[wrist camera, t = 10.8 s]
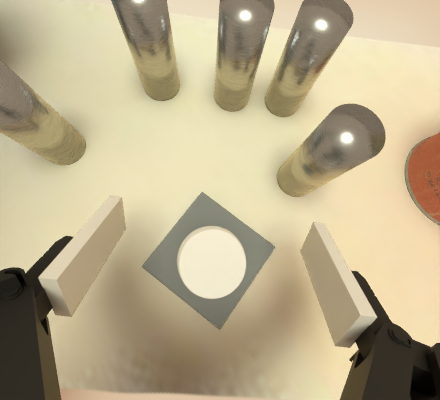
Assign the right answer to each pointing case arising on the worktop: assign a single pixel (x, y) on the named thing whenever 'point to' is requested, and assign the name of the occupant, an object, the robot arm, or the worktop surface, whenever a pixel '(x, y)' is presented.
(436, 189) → the canned food
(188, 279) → the supplement bottle
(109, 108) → the worktop surface
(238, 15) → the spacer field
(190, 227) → the mat
